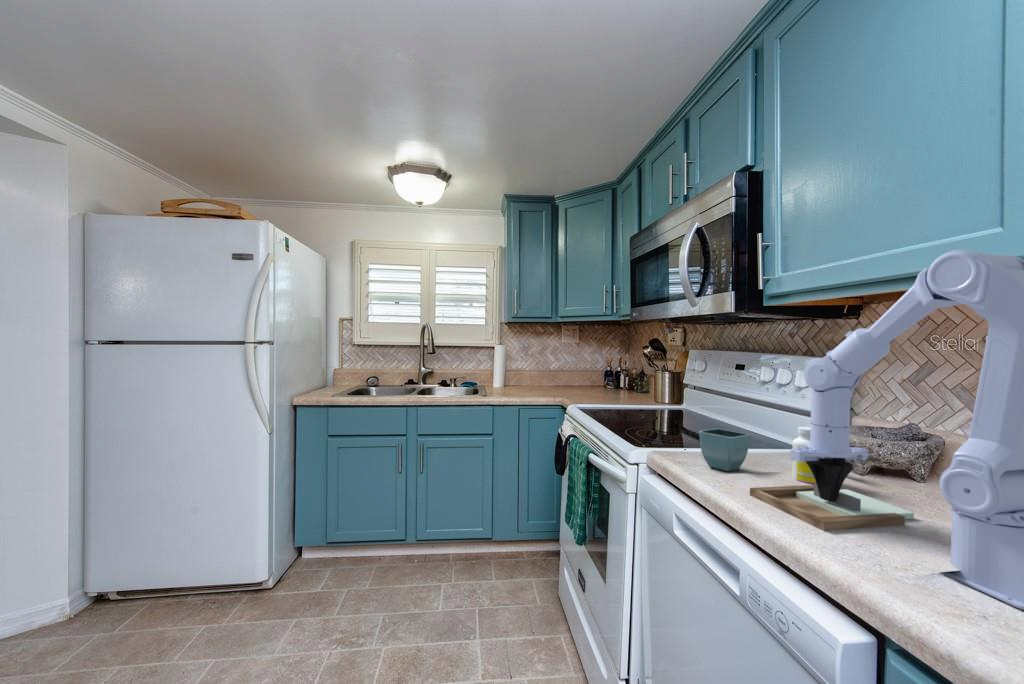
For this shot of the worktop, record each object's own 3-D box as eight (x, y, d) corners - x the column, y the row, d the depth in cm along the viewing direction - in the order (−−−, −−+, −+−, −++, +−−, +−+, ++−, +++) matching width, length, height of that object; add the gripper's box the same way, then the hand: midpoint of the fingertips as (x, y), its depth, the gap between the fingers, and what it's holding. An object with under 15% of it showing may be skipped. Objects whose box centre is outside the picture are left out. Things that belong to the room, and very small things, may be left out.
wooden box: (904, 534, 71) (904, 516, 71) (823, 540, 68) (823, 521, 68) (818, 499, 87) (818, 484, 87) (749, 502, 84) (749, 487, 84)
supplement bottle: (834, 493, 91) (836, 432, 91) (800, 490, 92) (802, 430, 92) (817, 483, 97) (818, 426, 97) (785, 480, 98) (787, 424, 99)
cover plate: (913, 518, 74) (914, 501, 74) (856, 522, 72) (856, 504, 72) (847, 494, 86) (847, 479, 86) (795, 496, 83) (796, 481, 83)
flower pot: (716, 461, 114) (717, 427, 114) (750, 470, 106) (751, 434, 106) (697, 466, 109) (698, 430, 109) (731, 475, 101) (732, 437, 101)
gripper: (842, 420, 83) (840, 490, 83) (777, 421, 80) (776, 493, 80) (879, 427, 76) (877, 504, 76) (810, 429, 73) (808, 508, 73)
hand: (827, 499), depth 78 cm, fingers closed
